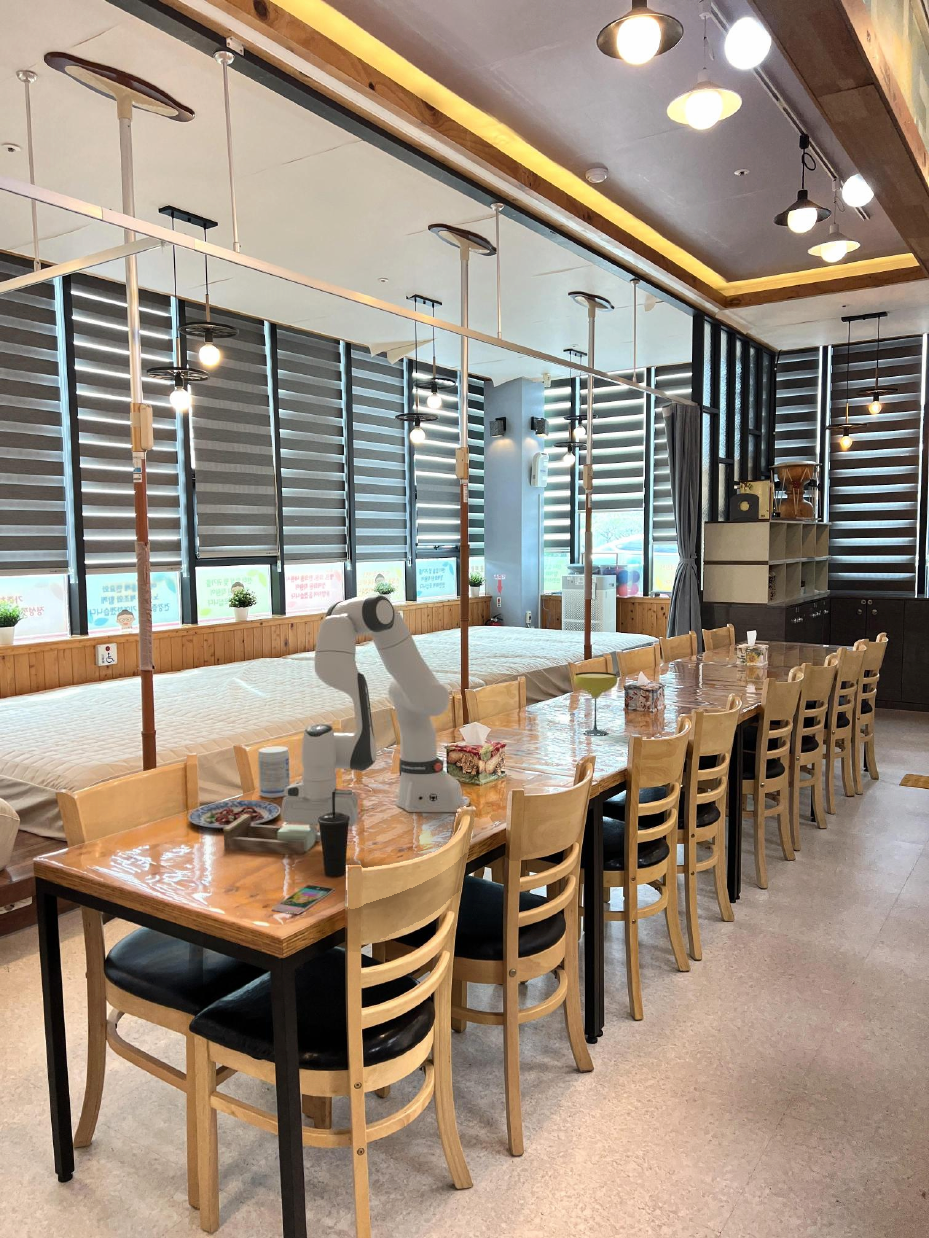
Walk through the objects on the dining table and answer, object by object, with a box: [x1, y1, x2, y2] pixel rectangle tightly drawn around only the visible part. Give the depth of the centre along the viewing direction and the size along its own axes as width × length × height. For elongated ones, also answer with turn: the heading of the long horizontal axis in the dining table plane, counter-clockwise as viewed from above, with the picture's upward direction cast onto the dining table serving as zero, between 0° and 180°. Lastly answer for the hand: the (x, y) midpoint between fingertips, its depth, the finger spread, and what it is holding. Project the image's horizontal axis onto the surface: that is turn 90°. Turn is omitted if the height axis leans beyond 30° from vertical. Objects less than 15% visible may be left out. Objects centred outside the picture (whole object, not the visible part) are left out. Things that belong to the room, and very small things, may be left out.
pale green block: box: [277, 824, 316, 852], centre depth 226 cm, size 8×7×5 cm
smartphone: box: [271, 884, 335, 915], centre depth 192 cm, size 7×1×15 cm
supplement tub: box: [257, 745, 291, 799], centre depth 275 cm, size 10×10×15 cm
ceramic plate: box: [188, 799, 282, 829], centre depth 250 cm, size 26×26×3 cm
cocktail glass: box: [573, 671, 618, 735], centre depth 364 cm, size 18×18×25 cm
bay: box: [222, 814, 320, 856], centre depth 228 cm, size 22×12×6 cm, turn 77°
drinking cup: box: [318, 792, 350, 878], centre depth 206 cm, size 8×8×20 cm
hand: (320, 840), depth 225 cm, fingers closed
